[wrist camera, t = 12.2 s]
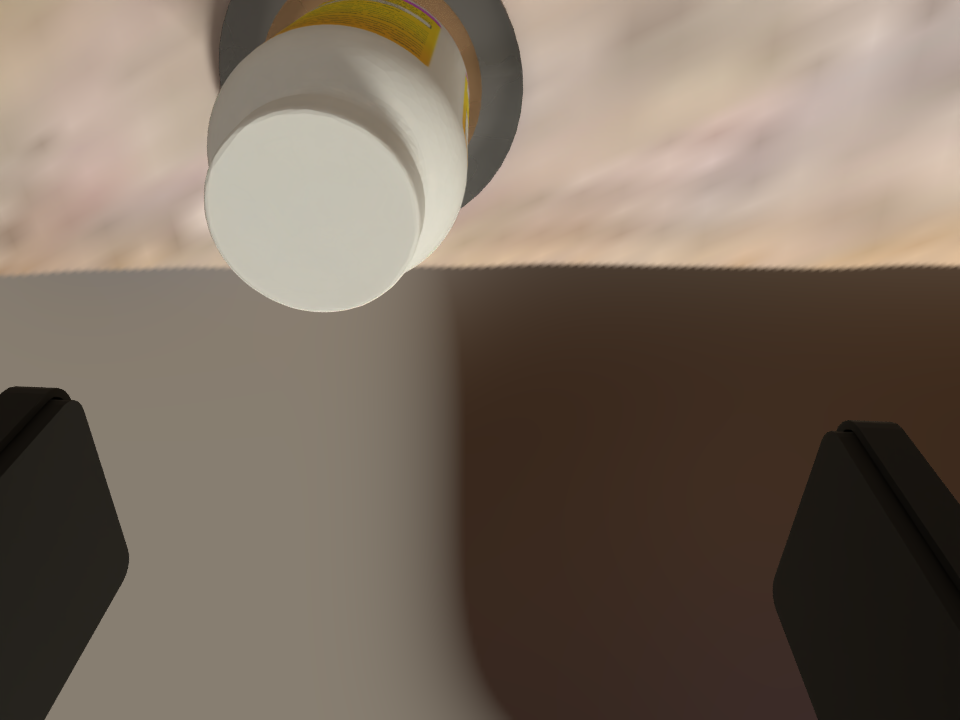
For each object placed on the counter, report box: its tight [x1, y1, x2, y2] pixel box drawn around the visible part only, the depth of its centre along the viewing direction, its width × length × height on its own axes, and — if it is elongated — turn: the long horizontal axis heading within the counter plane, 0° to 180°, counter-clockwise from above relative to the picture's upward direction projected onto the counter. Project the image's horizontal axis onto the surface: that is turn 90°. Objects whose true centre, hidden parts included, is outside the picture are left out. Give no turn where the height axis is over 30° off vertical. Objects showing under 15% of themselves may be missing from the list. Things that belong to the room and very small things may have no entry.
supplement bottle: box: [204, 0, 469, 312], centre depth 21 cm, size 7×7×13 cm
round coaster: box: [219, 0, 523, 208], centre depth 27 cm, size 11×11×1 cm
